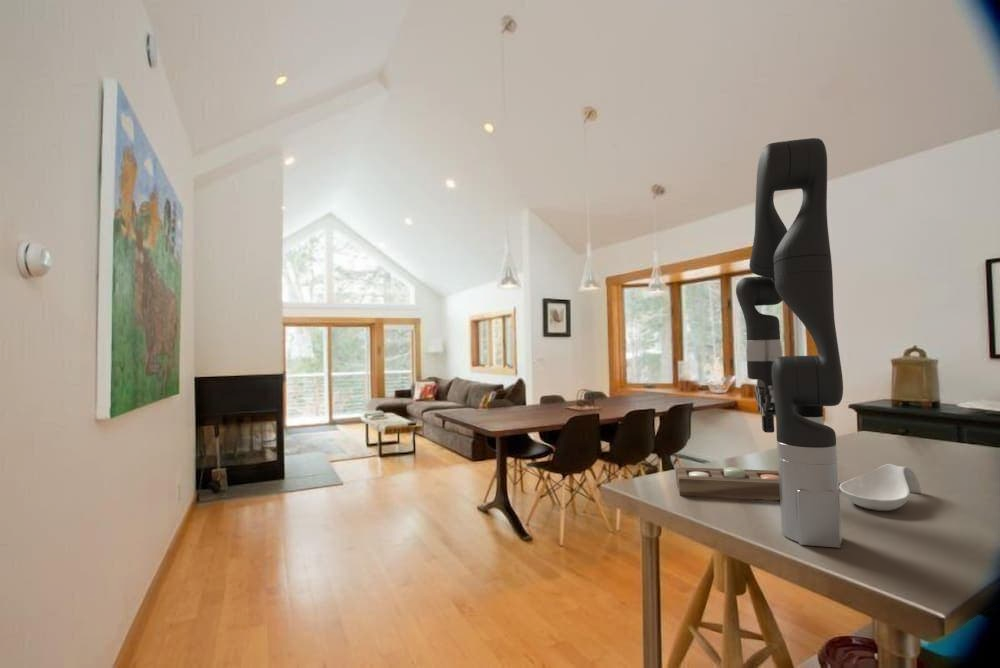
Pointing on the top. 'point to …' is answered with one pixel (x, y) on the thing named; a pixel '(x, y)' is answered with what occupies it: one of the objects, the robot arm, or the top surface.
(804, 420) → the robot arm
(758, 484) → the button panel
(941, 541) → the top surface
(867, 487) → the spoon rest
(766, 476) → the terracotta button
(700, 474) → the cream button
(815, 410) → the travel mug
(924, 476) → the top surface
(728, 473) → the sage button
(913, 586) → the top surface
